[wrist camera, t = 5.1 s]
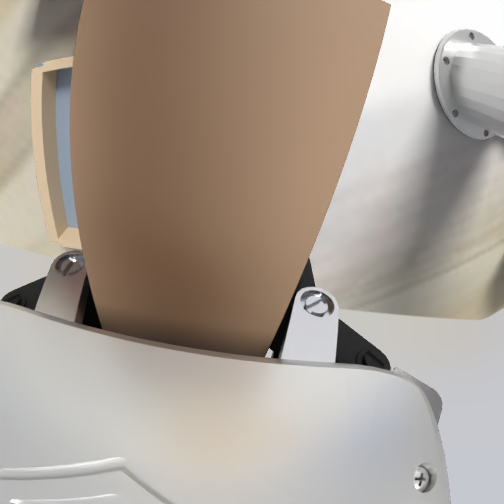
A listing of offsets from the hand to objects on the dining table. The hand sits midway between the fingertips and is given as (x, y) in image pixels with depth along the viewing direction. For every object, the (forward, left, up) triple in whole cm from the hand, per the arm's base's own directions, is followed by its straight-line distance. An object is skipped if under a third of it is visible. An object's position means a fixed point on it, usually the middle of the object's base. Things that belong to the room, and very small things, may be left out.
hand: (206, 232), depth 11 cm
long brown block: (0, 0, -1) cm, 1 cm away
